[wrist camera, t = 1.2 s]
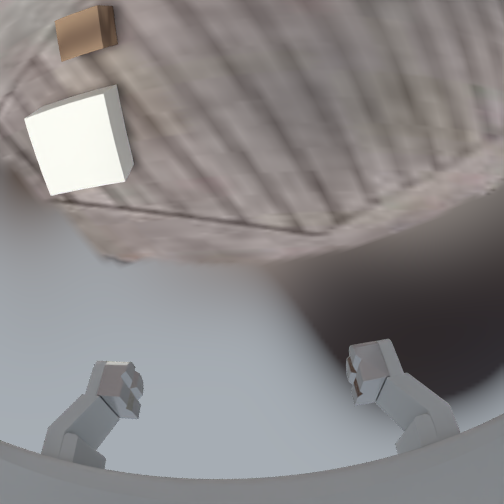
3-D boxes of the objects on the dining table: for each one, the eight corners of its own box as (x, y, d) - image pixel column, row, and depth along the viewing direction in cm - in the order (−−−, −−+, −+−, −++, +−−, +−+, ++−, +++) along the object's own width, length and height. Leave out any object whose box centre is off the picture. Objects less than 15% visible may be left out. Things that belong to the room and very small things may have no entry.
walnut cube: (74, 18, 24) (54, 21, 21) (112, 6, 24) (97, 5, 21) (80, 55, 28) (61, 61, 24) (118, 44, 28) (103, 48, 24)
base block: (43, 105, 31) (24, 118, 27) (117, 83, 31) (103, 93, 27) (64, 176, 38) (50, 195, 35) (134, 163, 39) (125, 181, 35)
